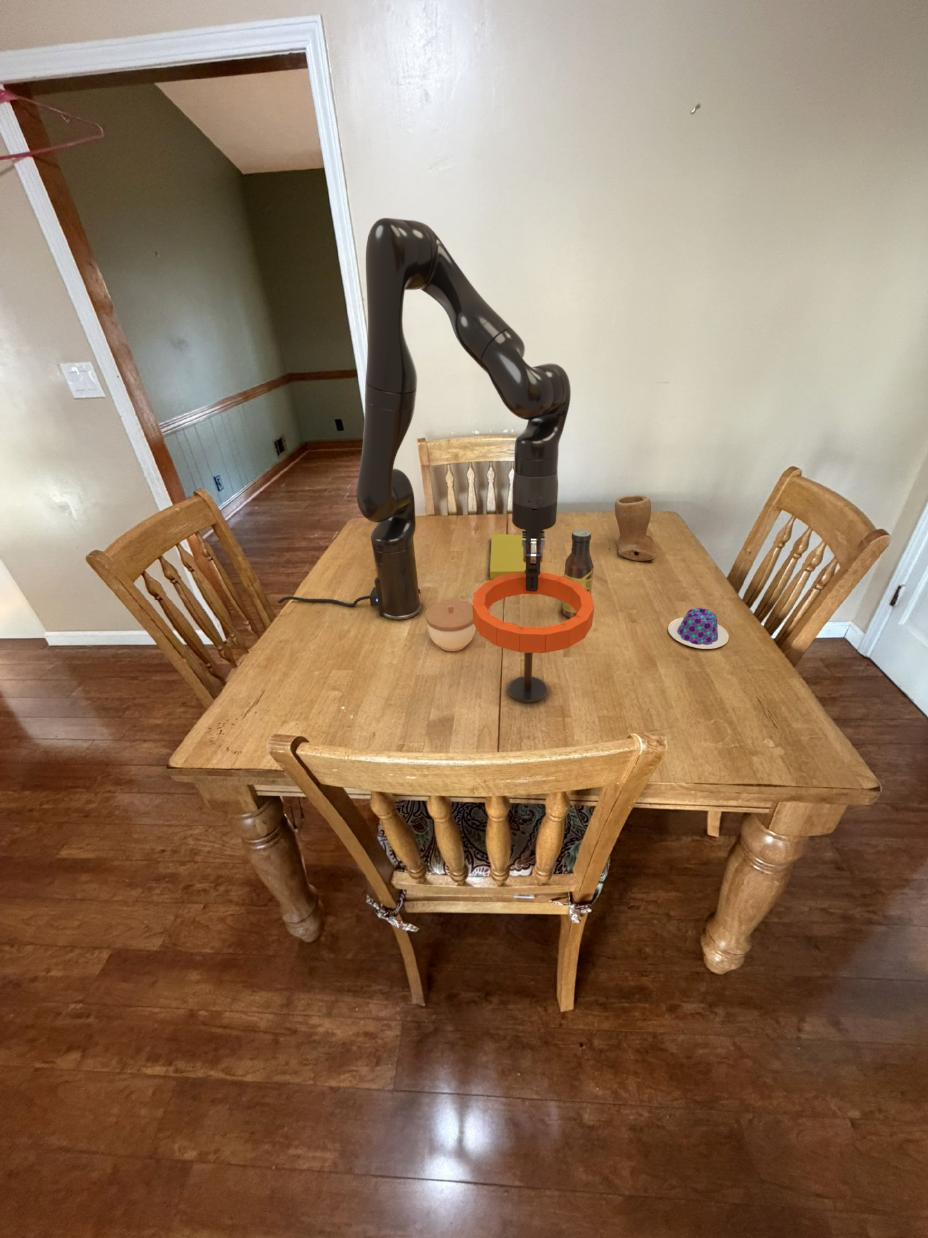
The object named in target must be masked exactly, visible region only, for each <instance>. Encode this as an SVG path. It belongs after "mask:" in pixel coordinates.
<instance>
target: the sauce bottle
mask: <svg viewBox="0 0 928 1238" xmlns="http://www.w3.org/2000/svg"><path fill="white" fill-rule="evenodd" d="M591 540H592V532H591V531H590V530H587V529H582V528H580V529H575V530H573V531H572V532H571V541H572V542H571V551H570V554H569V555H568V556H567V557H566V560H565V563H564V572H563V577H566V578H568V579H570V580H572V581H574V582H576V583H579V584H580V585H582V586H583V587H584V588H585V589H586V590H587V591H588V592H589V593H590V594H591V595H592V591H593V589H592V588H593V580H594V579H593V578H594V567H595V566H594V564H593V560H592V556H591V552H590V547H591V546H590V545H591ZM561 604H562V605H561V606H562V608H561V610H562V614H563V615H564V616H565V617H566V618H569V619H571V618H572V617H574V616H576V614H577V612H576V611H575V610H574V609H573V608H572V606H571V605H570V604H568V603H566V602H564V601H562V603H561Z"/></svg>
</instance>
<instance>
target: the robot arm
mask: <svg viewBox="0 0 928 1238" xmlns="http://www.w3.org/2000/svg"><path fill="white" fill-rule="evenodd" d="M365 280H366V281H365V283H366V305H367V349H366V351H367V354H366V372H365V383H364V384H365V387H364V418H363V419H364V420H363V433H362V448H361V457H360V464H359V469H358V470H359V471H358V475H357V483H356V502H357V506H358V509H359V511H360V512H361V515H362V516H363V517H364V518H365V519H366V520H368V521H369V522H370V523H371V522H372V523H377V524H376V526H375V528H374V529H373V530H372V531H371V535H370V540H371V541H370V542H371V548H372V555H373V562H374V569H375V574H376V577H375V579H374V586H373V587H372V589H371V590H370V593H369V595H364V596H361V597H357V598H355V600H354V601H353V602H351V603H346V602H343V601H340V600H337V599H330V598H305V597H299V596H284V597H282V598H281V599H279V600H278V601H277V604H282V603H283V602H285V601H288V600H293V601H300V602H305V603H333V604H338V605H341V606H343V607H348V608H353V607H355V606H356V605H357V604H358V603H359V602H361V601H366V600H369V604H370V607H378V613H379V614H378V615H379V617H385V618H386V619H388V620H393V621H402V620H403V621H404V620H408V619H412V618H413V617H415V616H417V615H419V613H420V612H421V609H422V605H421V599H420V596H421V595H422V594H421V593H422V592H421V589H420V587H419V579H418V571H417V561H416V551H415V542H414V535H415V532H416V526H417V525H416V522H417V521H416V504H415V503H416V502H415V492H414V489H413V484H412V483H411V480H410V479H409V477H408V475H407V474H406V473H405V472H404V471H402V470H400V469H399V468H394V465H395V462H396V458H397V454H398V453H399V450H400V447H401V446H402V444H403V442H404V440H405V437H406V436H407V433H408V430H409V428H410V426H411V424H412V421H413V418H414V413H415V407H416V400H417V399H416V398H417V391H418V390H417V389H418V374H417V369H416V365H415V362H414V358H413V356H412V353H411V351H410V348H409V345H408V343H407V340H406V336H405V332H404V324H403V323H404V322H403V319H404V318H403V317H404V315H403V314H404V300H405V293H406V291H416V290H421V291H422V292H424V293H425V294H426V295H428V296H429V297H431V298H432V299H433V300H434V301H436V302H437V303H438V304H439V305H440V306H441V307H442V308H443V310H444V311H445V313H446V315H447V317H448V319H449V322H450V325H451V328H452V331H453V334H454V336H455V337H456V339H457V341H458V343H459V345H460V346H461V347H462V349H464V351H465V352H466V354H468V356H470V358H471V359H473V361H474V362H475V363H476V364H477V365H478V366H479V367H480V368H481V369H482V370H483V371H484V372H485V373H486V374H487V375H488V377H489V379H490V382H491V384H492V386H493V387H494V389H495V391H496V393H497V394H498V396H499V398H500V399H501V401H502V404H503V405H504V406H505V408H507V410H509V412H510V413H512V414H513V415H514V416H516V417H518V418H520V419H521V420H526V421H527V424H526V426H525V428H524V430H523V431H522V432H521V433H519V434H518V435H517V437H516V439H515V442H514V449H513V450H514V453H513V455H514V456H513V457H514V458H513V460H514V462H513V467H514V468H513V470H514V471H513V478H512V489H511V490H512V491H511V493H512V494H511V495H512V496H511V523H512V525H513V526H514V527H515V528H517V529H520V530H521V535H522V547H523V561H524V562H525V563H526V569H525V573H526V591H537V590H538V576H539V575H540V572H541V563H542V562H543V560H544V559H543V558H544V548H545V546H546V536H545V533H546V531H545V530H548V529H549V530H550V529H551V528H552V527H554V526H555V525H556V523H557V514H558V513H557V512H558V495H559V474H558V473H559V472H558V471H559V470H558V469H559V453H560V451H559V449H560V448H559V447H560V442H561V439H562V435H563V433H564V428H565V424H566V420H567V417H568V413H569V409H570V404H571V395H572V390H571V388H572V387H571V381H570V378H569V376H568V374H567V372H566V370H565V369H564V367H562V366H560V365H559V364H558V363H551V362H548V363H544V364H543V363H542V364H538V365H535V366H531V365H530V364H528V363H527V362H526V360H524V357H525V353H526V346H525V343H524V341H523V339H522V338H521V336H520V335H519V334H518V333H517V332H516V330H514V329H513V328H512V327H511V326H510V325H509V324H508V323H507V322H506V321H505V320H504V318H503V317H502V316H500V314H499V313H497V312H496V311H495V310H494V308H492V306H491V305H490V304H489V303H488V302H487V301H486V300H485V299H484V298H483V296H482V295H481V294H480V293H479V292H478V290H477V289H476V288H475V287H474V285H473V283H471V281H469V279H468V278H467V276H466V275H465V273H464V272H463V270H462V269H461V268H460V266H459V265H458V264H457V262H456V261H455V259H454V258H453V256H452V254H451V253H450V252H449V250H448V249H447V247H446V246H445V244H444V243H443V242H442V240H441V239H440V237H439V236H438V235H437V233H436V232H435V231H434V230H433V229H432V228H431V227H430V226H429V225H428V224H426V223H424V222H421V221H419V220H414V219H413V220H412V219H403V218H397V217H395V218H393V217H381V218H379V219H378V220H376V221H375V222H374V224H373V225H372V226H371V228H370V230H369V232H368V236H367V241H366V246H365Z"/></svg>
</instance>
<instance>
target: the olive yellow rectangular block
mask: <svg viewBox="0 0 928 1238" xmlns="http://www.w3.org/2000/svg"><path fill="white" fill-rule="evenodd" d="M525 569H526V563H525V562H524V561H523V547H522V534H505V533H491V544H490V562H489V579H490V580H492V579H495V578H497V577H499V576H502V575H507V574H513V573H518V572H525Z"/></svg>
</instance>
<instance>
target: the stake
mask: <svg viewBox="0 0 928 1238" xmlns="http://www.w3.org/2000/svg"><path fill="white" fill-rule="evenodd" d="M523 654H524V655H523V657H524V658H523V661H524V662H523V676H520V677H517V678H514V679H513V680H512V681H511V682H510V683H509V686H508V693H509V695H510V697H511V698H512V699H513V700H514V701H515V702H518V703H521V704H526V705H531V704H536V703H539V702H540V701H542V700H543V699H544V698H545V696H546V695H547V685H546V683H544V681H543V680H542V679H540V678H537V677H534V676H533V660H534V659H533V658H534V657H533V656H534V653H525V652H523Z"/></svg>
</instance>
